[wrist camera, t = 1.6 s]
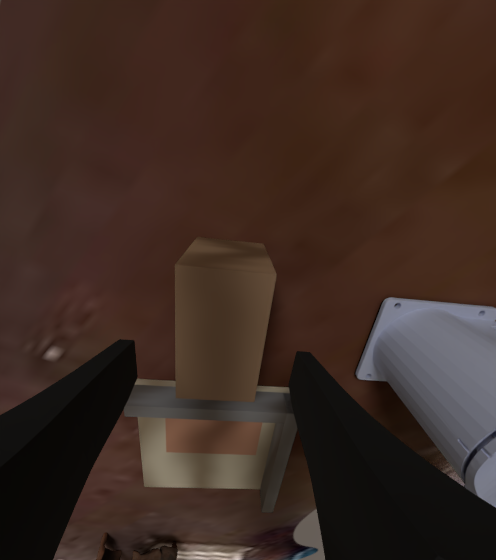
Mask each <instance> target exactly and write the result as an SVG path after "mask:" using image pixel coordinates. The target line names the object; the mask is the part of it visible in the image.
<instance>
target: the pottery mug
mask: <svg viewBox="0 0 496 560" xmlns="http://www.w3.org/2000/svg"><path fill="white" fill-rule="evenodd" d="M107 535H108V533H104V534H103V536H102V539H101V544H100V548H99V551H98V555H97V559H96V560H120V557H121V550H117V551H111V550H109V549H107V548H105V546H104V545H105V543H106V539H107ZM177 552H178V549H177V545H176V542H173V544H172V547H168V546H162V547H161V548H160V549H159V548H156V549H152V550H151V551H149V552H147V553H143V554H140V553H139V552H138V551H135V550H134V551H133V557H132V560H176V558H177Z"/></svg>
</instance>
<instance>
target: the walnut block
mask: <svg viewBox="0 0 496 560" xmlns="http://www.w3.org/2000/svg"><path fill="white" fill-rule="evenodd" d="M276 276H277V274H276V272H275V270H274V267H273V265H272V263H271V260H270V258H269V256H268V253H267V251H266V249H265V246H264V244H260V243H251V242H241V241H232V240H223V239H213V238H204V237H197V238H196V239H195V241H194V242H193V243H192V244H191V246H190V247H189V248H188V249H187V251H186V252H185V253H184V254H183V255H182V257H181V258H180V259H179V260H178V262H177V263H176V264H175V372H176V398H181V399H200V400H220V401H240V402H254V401H255V395H256V390H257V384H258V378H259V373H260V367H261V361H262V355H263V350H264V344H265V338H266V333H267V327H268V321H269V316H270V310H271V304H272V298H273V293H274V287H275V281H276Z"/></svg>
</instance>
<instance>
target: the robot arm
mask: <svg viewBox="0 0 496 560" xmlns="http://www.w3.org/2000/svg"><path fill="white" fill-rule="evenodd" d="M397 303H398V304H397ZM395 304H397V305H396V306H394V305H395ZM495 320H496V308H494V307H488V306H477V305H466V304H456V303H445V302H434V301H423V300H412V299H402V298H387V299H385V300H384V301H383V303H382V305H381V308H380V310H379V313H378V316H377V318H376V321H375V323H374V326H373V329H372V331H371V334H370V336H369V339H368V342H367V344H366V347H365V349H364V352H363V355H362V357H361V360H360V362H359V365H358V368H357V370H356V376H357V378H358V379H360V380H374V381H387V382H388V383H389V384H390V386H391V387H392V388H393V390H394V391H395V392H396V394H397V395H398V396H399V398H400V399H401V400H402V402H403V403H404V404H405V406H406V407H407V408H408V410H409V411H410V412H411V414H412V415H413V416H414V417H415V419H416V420H417V421H418V423H419V424H420V425H421V427H422V428H423V429H424V431H425V432H426V433H427V435H428V436H429V437H430V439H431V440H432V441H433V443H434V444H435V445H436V446H437V448H438V449H439V450H440V452H441V453H442V454H443V456H444V457H445V458H446V460H447V461H448V462H449V464H450V465H451V466H452V468H453V469H454V470H455V472H456V473H457V474H458V475H459V477H460V478H461V479H462V481H463V482H464V483H465V486H464V487H463V486H462V485H460V484H459V483H457V482H456V481H454V480H453V479H451V478H450V477H449V476H447V475H446V474H444V473H443V472H441V471H440V470H439V469H437V468H436V467H434V466H433V465H432V464H430V463H429V462H427V461H426V460H425V459H423V458H422V457H421V456H420V455H418V454H417V453H416V452H414V451H413V450H412V449H410V448H409V447H408V446H406V445H405V444H404V443H403V442H401V441H400V440H399V439H398V438H396V437H395V436H394V435H393V434H391V433H390V432H389V431H388V430H387V429H386V428H385V427H383V426H382V425H381V424H380V423H379V422H378V421H376V420H375V419H374V418H373V417H372V416H371V415H370V414H369V413H367V412H366V411H365V410H364V409H363V408H362V407H361V406H360V405H359V404H358V403H357V402H356V401H355V400H354V399H353V398H352V397H351V396H350V395H349V394H348V393H347V392H346V391H345V390H344V389H343V388H342V387H341V386H340V385H339V384H338V383H337V382H336V381H335V379H334V378H333V377H332V376H331V375H330V374H329V373H328V372H327V371H326V370H325V368H324V367H323V366H322V365H321V364H320V363H319V362H318V361H317V360H316V358H315V357H314V356H313V355H312V354H311V353H310V352H299V351H297V353H296V357H295V361H294V365H293V369H292V373H291V377H290V381H289V391H290V398H291V404H292V409H293V413H294V417H295V420H296V424H297V428H298V431H299V435H300V439H301V442H302V446H303V449H304V453H305V457H306V460H307V464H308V468H309V472H310V476H311V481H312V486H313V492H314V497H315V502H316V507H317V513H318V519H319V524H320V530H321V535H322V542H323V548H324V553H325V560H496V322H495ZM136 379H137V365H136V354H135V342H134V340H121V339H120V340H118V341H117V342H115V343H114V344H112V345H111V346H109V347H108V348H106V349H105V350H104V351H102V352H101V353H99V354H98V355H96V356H95V357H94V358H92V359H91V360H89V361H88V362H86V363H85V364H83V365H82V366H80V367H79V368H78V369H76V370H75V371H73V372H72V373H70V374H69V375H67V376H65V377H64V378H62V379H61V380H59V381H58V382H56V383H54V384H53V385H51V386H50V387H48V388H47V389H45V390H43V391H42V392H40V393H39V394H37V395H35V396H34V397H32V398H30V399H28V400H27V401H25V402H23V403H22V404H20V405H18V406H16V407H14V408H13V409H11V410H9V411H7V412H5V413H4V414H2V415H0V560H53V558H54V556H55V553H56V551H57V548H58V546H59V543H60V541H61V538H62V536H63V534H64V531H65V529H66V527H67V524H68V522H69V519H70V517H71V515H72V512H73V510H74V507H75V505H76V503H77V501H78V498H79V496H80V494H81V492H82V489H83V487H84V485H85V482H86V480H87V478H88V476H89V473H90V471H91V469H92V467H93V465H94V463H95V461H96V459H97V457H98V456H99V454H100V452H101V450H102V448H103V446H104V444H105V443H106V441H107V439H108V437H109V435H110V433H111V431H112V430H113V428H114V426H115V424H116V422H117V420H118V418H119V417H120V415H121V413H122V411H123V409H124V407H125V405H126V403H127V401H128V399H129V397H130V394H131V392H132V390H133V387H134V384H135V382H136Z"/></svg>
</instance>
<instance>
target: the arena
mask: <svg viewBox="0 0 496 560" xmlns="http://www.w3.org/2000/svg"><path fill="white" fill-rule="evenodd" d="M124 413H125V416H127V417H138V426H139V436H140V446H141V457H142V467H143V478H144V487H181V488H229V489H260V498H261V512H268V513H273V510H274V506H275V503H276V500H277V496H278V493H279V489H280V486H281V483H282V479H283V476H284V472H285V469H286V466H287V462H288V459H289V455H290V452H291V449H292V445H293V442H294V438H295V435H296V432H297V424H296V420H295V417H294V413H293V409H292V404H291V398H290V391H289V388H288V387H271V386H257V390H256V395H255V401H254V402H240V401H220V400H200V399H181V398H176V381H166V380H148V379H137V381H136V383H135V385H134V387H133V390H132V392H131V394H130V397H129V399H128V401H127V403H126V405H125V407H124Z"/></svg>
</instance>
